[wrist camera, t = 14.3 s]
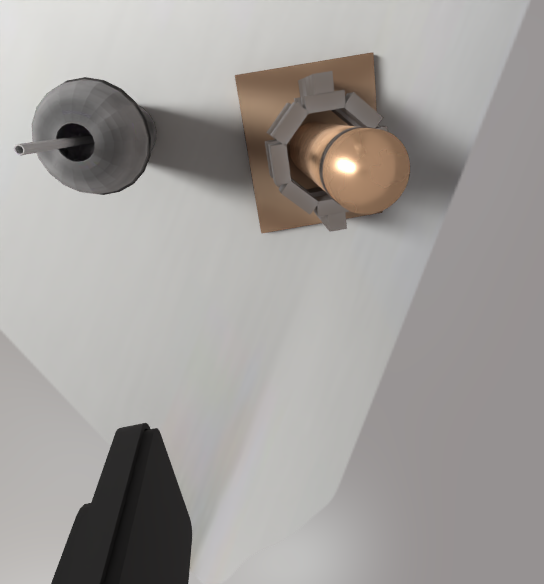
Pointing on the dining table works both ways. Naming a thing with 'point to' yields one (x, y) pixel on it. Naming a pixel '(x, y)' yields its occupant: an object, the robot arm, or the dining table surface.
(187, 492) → the dining table surface
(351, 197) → the copper tube
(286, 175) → the collar stand
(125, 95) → the beverage cup
